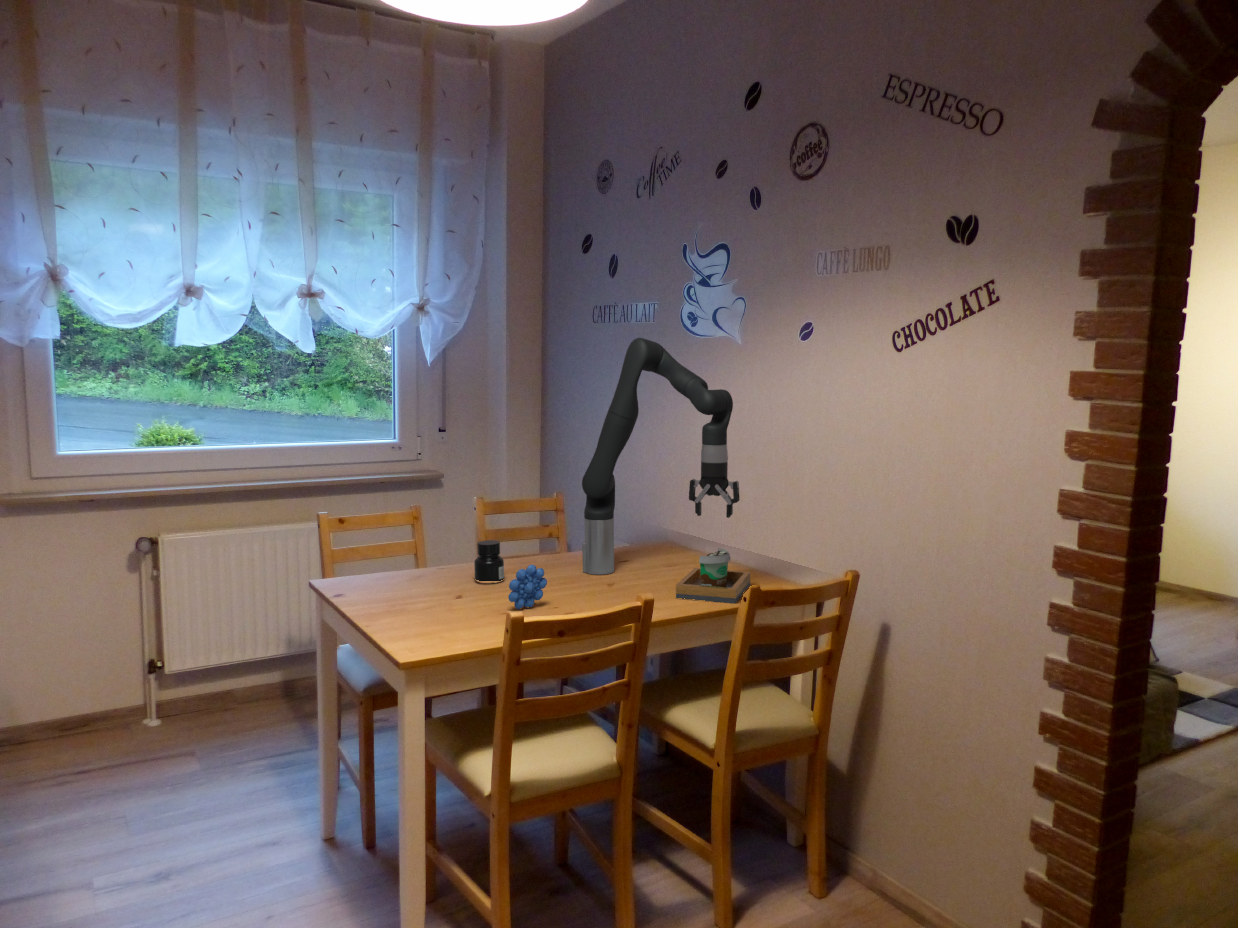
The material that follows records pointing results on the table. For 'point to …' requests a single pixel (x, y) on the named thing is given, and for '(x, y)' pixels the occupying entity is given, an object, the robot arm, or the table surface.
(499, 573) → the ink bottle
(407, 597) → the table surface
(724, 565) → the food container
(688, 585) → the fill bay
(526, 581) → the grapes
